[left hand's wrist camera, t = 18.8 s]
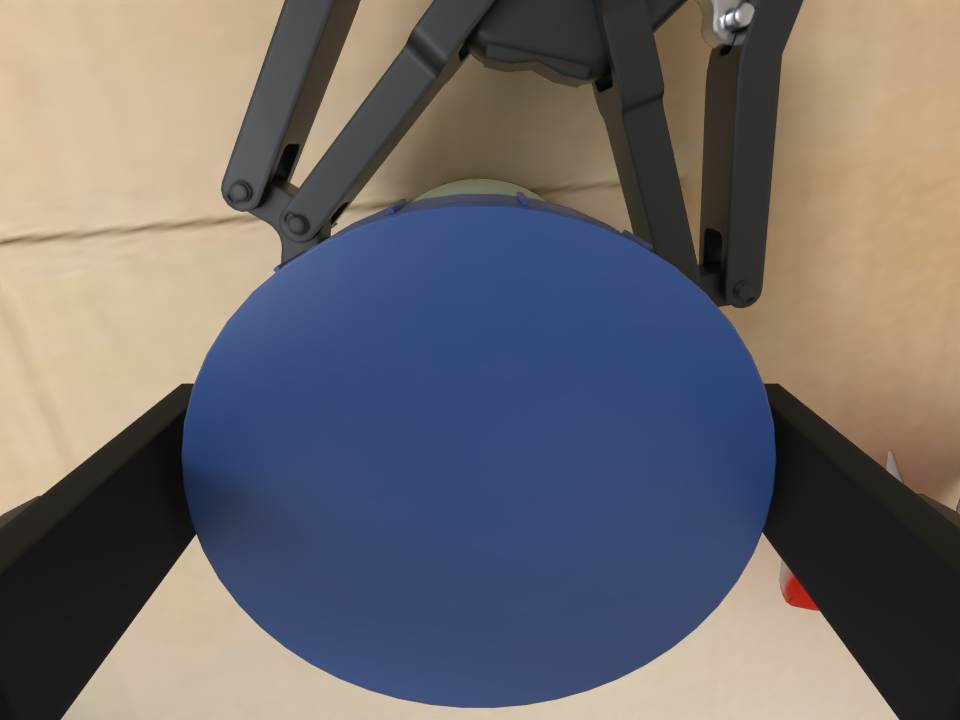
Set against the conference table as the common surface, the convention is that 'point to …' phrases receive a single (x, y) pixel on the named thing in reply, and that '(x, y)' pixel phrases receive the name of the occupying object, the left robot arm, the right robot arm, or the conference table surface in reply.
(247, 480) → the lid
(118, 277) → the conference table surface
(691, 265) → the right robot arm
